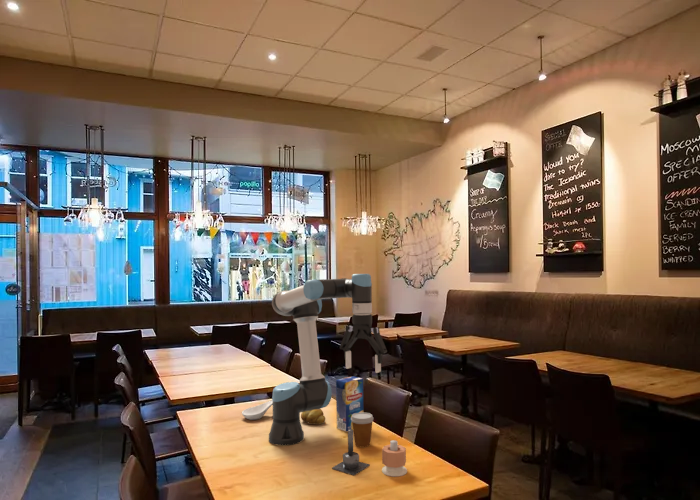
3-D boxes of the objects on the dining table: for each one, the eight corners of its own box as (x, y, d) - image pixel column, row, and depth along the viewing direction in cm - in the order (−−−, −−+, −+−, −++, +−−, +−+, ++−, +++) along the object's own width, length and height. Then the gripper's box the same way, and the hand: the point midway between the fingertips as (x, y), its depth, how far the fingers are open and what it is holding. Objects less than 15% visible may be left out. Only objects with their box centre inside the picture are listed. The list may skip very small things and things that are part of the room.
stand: (332, 468, 171) (331, 431, 172) (347, 459, 180) (347, 424, 180) (354, 475, 166) (353, 436, 166) (369, 465, 174) (369, 428, 174)
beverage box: (363, 426, 218) (363, 378, 219) (346, 431, 211) (345, 382, 212) (353, 422, 223) (353, 376, 224) (336, 428, 216) (335, 380, 217)
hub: (377, 472, 168) (376, 442, 168) (390, 463, 175) (389, 435, 176) (399, 478, 163) (398, 448, 163) (411, 469, 170) (410, 440, 170)
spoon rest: (246, 423, 225) (246, 408, 225) (238, 417, 235) (238, 403, 235) (291, 415, 237) (291, 400, 237) (282, 409, 247) (282, 395, 247)
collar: (380, 466, 166) (380, 451, 166) (385, 457, 174) (385, 443, 174) (403, 468, 164) (403, 453, 164) (406, 459, 172) (406, 445, 172)
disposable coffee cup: (372, 449, 189) (371, 419, 190) (349, 448, 191) (348, 418, 192) (375, 441, 199) (375, 412, 199) (353, 439, 201) (353, 411, 201)
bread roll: (329, 423, 223) (329, 406, 224) (314, 427, 217) (313, 410, 217) (312, 417, 233) (312, 400, 233) (297, 421, 226) (297, 405, 226)
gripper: (330, 313, 183) (331, 368, 182) (384, 316, 168) (386, 375, 168) (341, 311, 189) (342, 364, 188) (395, 314, 175) (396, 371, 174)
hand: (363, 370), depth 178 cm, fingers open, 13 cm apart
